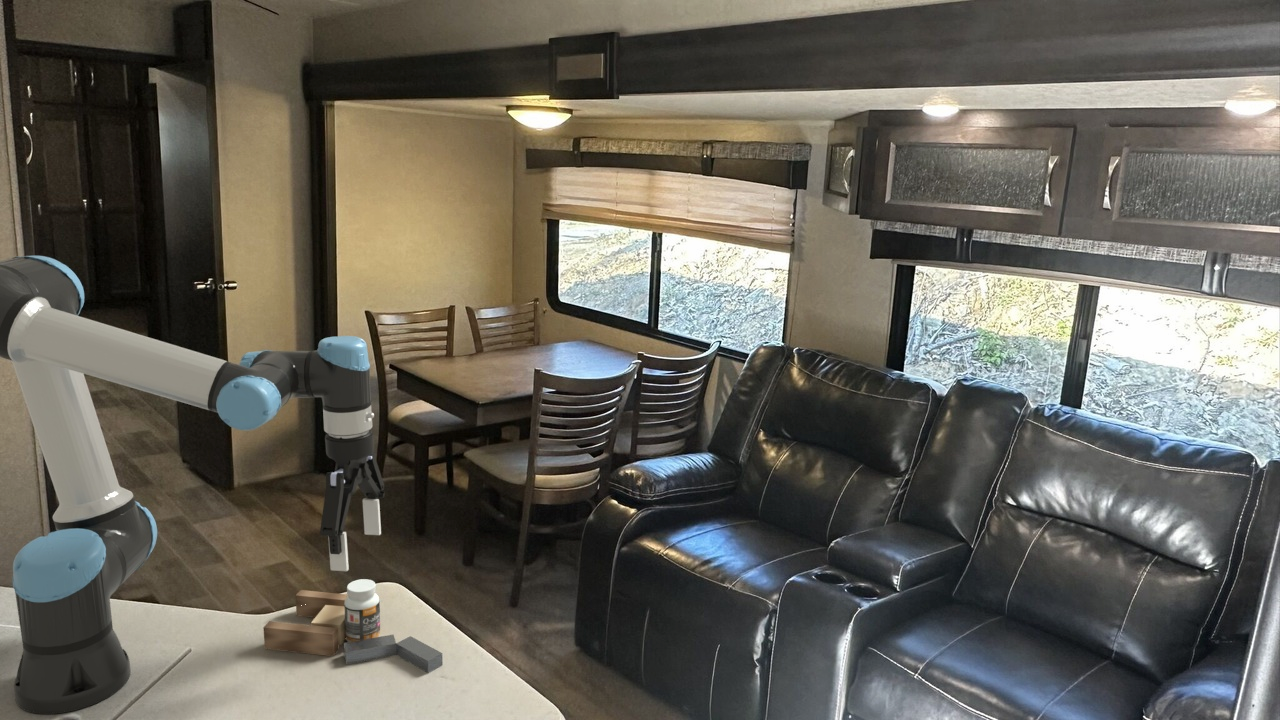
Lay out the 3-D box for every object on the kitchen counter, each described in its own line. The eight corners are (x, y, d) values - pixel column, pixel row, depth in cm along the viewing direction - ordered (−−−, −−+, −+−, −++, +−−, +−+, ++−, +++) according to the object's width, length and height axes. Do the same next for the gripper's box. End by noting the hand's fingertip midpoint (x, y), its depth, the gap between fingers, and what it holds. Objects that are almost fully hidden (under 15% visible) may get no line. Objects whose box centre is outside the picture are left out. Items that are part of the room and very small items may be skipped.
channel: (264, 648, 151) (263, 627, 150) (301, 610, 164) (300, 589, 163) (333, 656, 150) (332, 634, 149) (365, 616, 163) (364, 596, 162)
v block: (337, 663, 148) (337, 651, 148) (354, 641, 154) (354, 630, 154) (437, 674, 146) (437, 661, 146) (450, 651, 153) (450, 640, 152)
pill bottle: (370, 649, 153) (368, 595, 150) (339, 644, 154) (337, 590, 151) (386, 631, 158) (384, 580, 156) (356, 627, 159) (354, 575, 157)
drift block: (312, 643, 154) (311, 622, 153) (326, 625, 160) (325, 604, 159) (340, 646, 153) (339, 625, 152) (354, 627, 159) (353, 607, 158)
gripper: (338, 458, 135) (347, 588, 140) (399, 410, 159) (405, 521, 164) (290, 456, 136) (300, 585, 141) (358, 408, 160) (365, 519, 165)
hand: (357, 551), depth 153 cm, fingers open, 13 cm apart
